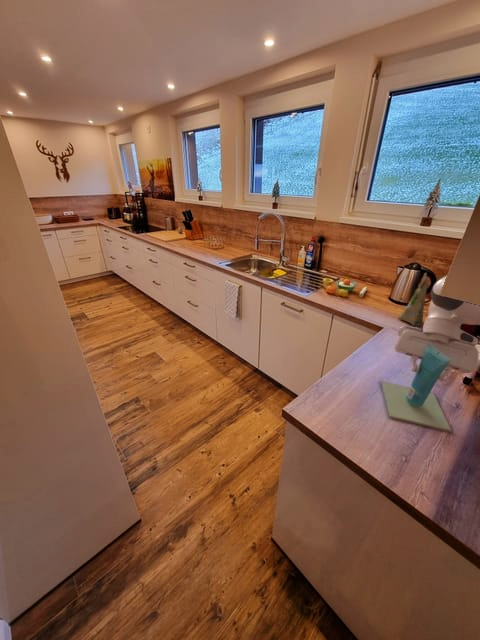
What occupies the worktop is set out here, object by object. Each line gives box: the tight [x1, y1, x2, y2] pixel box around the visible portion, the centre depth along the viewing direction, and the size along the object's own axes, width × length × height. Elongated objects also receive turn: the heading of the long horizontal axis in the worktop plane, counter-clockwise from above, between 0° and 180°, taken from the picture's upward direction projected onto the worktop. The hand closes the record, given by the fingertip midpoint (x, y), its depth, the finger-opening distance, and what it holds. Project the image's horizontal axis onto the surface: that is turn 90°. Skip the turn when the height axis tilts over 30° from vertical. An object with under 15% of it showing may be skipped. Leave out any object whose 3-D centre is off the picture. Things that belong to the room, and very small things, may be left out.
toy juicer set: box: [322, 277, 368, 298], centre depth 166 cm, size 29×18×8 cm, turn 79°
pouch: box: [399, 272, 428, 327], centre depth 130 cm, size 11×12×25 cm
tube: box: [406, 345, 451, 406], centre depth 79 cm, size 7×5×19 cm, turn 20°
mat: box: [381, 381, 452, 433], centre depth 84 cm, size 16×16×1 cm
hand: (427, 375), depth 78 cm, fingers closed on tube, 5 cm apart
